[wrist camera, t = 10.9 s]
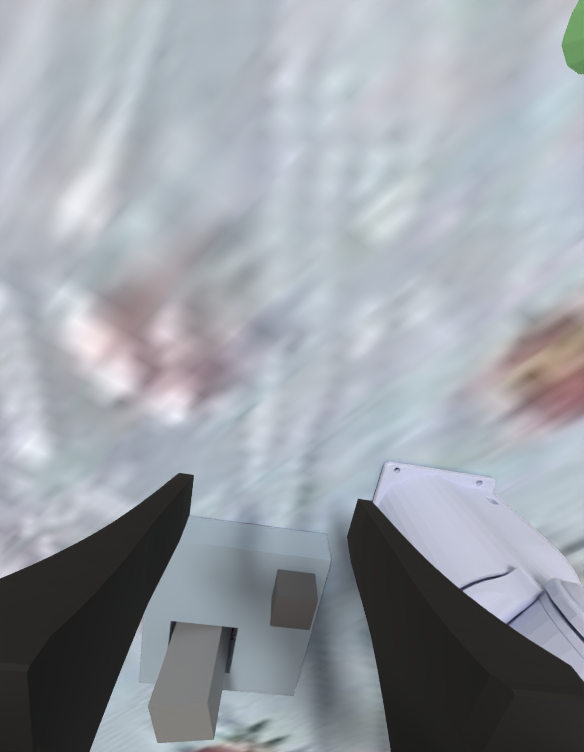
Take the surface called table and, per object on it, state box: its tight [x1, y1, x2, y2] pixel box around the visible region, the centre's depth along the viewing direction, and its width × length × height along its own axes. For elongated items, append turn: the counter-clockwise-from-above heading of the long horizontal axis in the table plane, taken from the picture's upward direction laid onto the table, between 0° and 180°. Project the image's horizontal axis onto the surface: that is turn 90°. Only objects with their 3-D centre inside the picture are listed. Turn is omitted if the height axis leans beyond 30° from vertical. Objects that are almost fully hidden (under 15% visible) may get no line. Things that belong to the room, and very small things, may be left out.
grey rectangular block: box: [148, 622, 232, 743], centre depth 22 cm, size 4×4×7 cm
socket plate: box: [139, 516, 331, 696], centre depth 23 cm, size 14×16×4 cm
